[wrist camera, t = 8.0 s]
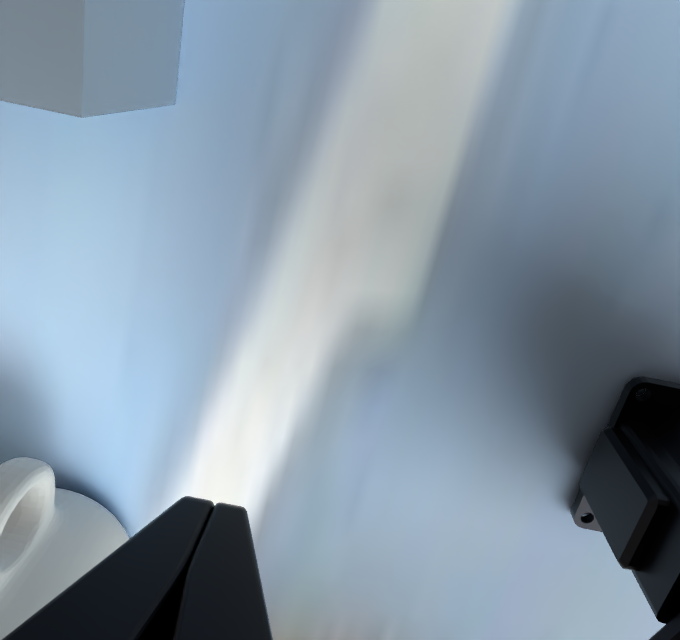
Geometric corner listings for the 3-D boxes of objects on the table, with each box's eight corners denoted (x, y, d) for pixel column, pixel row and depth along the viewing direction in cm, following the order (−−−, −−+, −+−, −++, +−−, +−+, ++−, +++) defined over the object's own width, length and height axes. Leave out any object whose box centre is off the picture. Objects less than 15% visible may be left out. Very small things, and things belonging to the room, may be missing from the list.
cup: (-32, 380, 23) (-229, 528, 15) (175, 423, 23) (79, 589, 15) (-24, 588, 27) (-177, 783, 19) (151, 622, 27) (66, 828, 20)
